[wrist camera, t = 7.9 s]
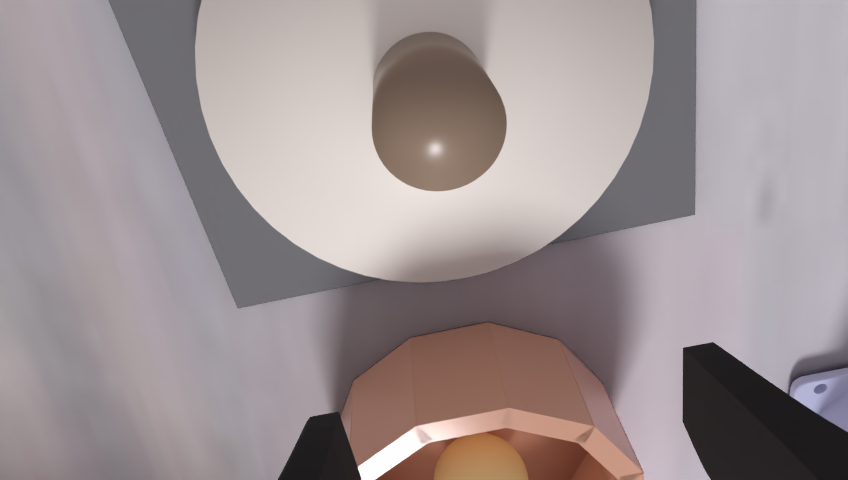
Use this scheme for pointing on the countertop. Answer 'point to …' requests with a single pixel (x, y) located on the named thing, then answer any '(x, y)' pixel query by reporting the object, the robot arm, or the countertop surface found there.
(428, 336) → the bowl
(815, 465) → the robot arm
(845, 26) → the countertop surface
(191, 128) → the mat
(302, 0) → the lid
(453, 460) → the yellow ball
